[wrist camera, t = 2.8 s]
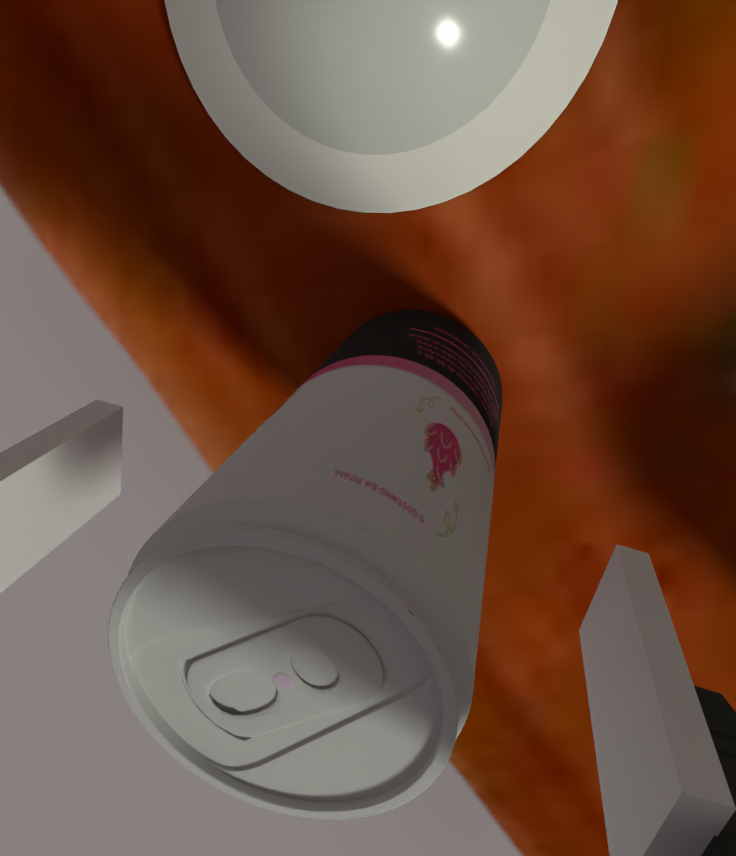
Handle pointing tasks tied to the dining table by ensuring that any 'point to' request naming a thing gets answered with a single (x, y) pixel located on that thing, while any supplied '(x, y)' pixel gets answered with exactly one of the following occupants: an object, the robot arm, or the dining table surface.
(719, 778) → the robot arm
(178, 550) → the beverage can
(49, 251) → the dining table surface
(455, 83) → the plate
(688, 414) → the dining table surface
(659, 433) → the dining table surface
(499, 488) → the dining table surface
